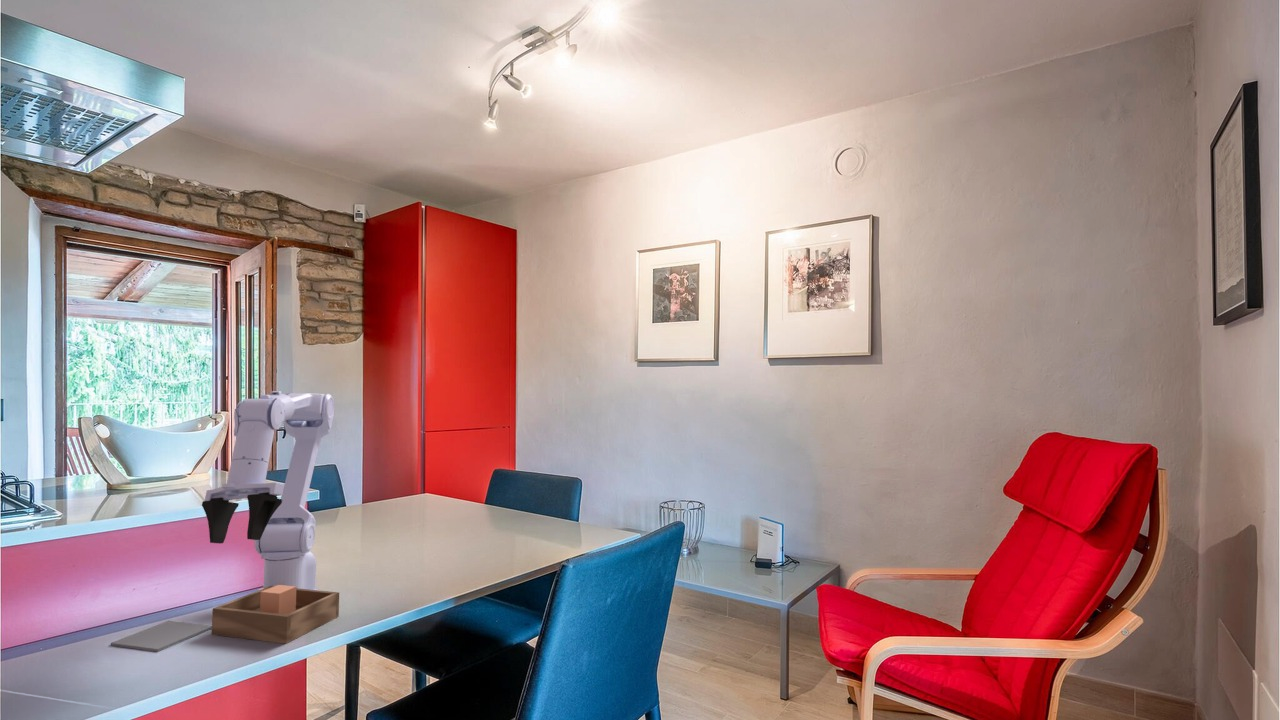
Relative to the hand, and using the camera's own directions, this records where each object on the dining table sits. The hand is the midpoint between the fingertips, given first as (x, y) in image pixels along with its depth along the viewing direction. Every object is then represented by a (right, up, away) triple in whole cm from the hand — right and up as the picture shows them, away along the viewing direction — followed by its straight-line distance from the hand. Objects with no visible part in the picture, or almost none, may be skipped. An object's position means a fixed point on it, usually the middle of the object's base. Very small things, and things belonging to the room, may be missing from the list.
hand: (235, 541), depth 104 cm
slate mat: (-14, -17, +2) cm, 22 cm away
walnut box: (+3, -18, +8) cm, 19 cm away
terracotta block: (+3, -16, +8) cm, 18 cm away
